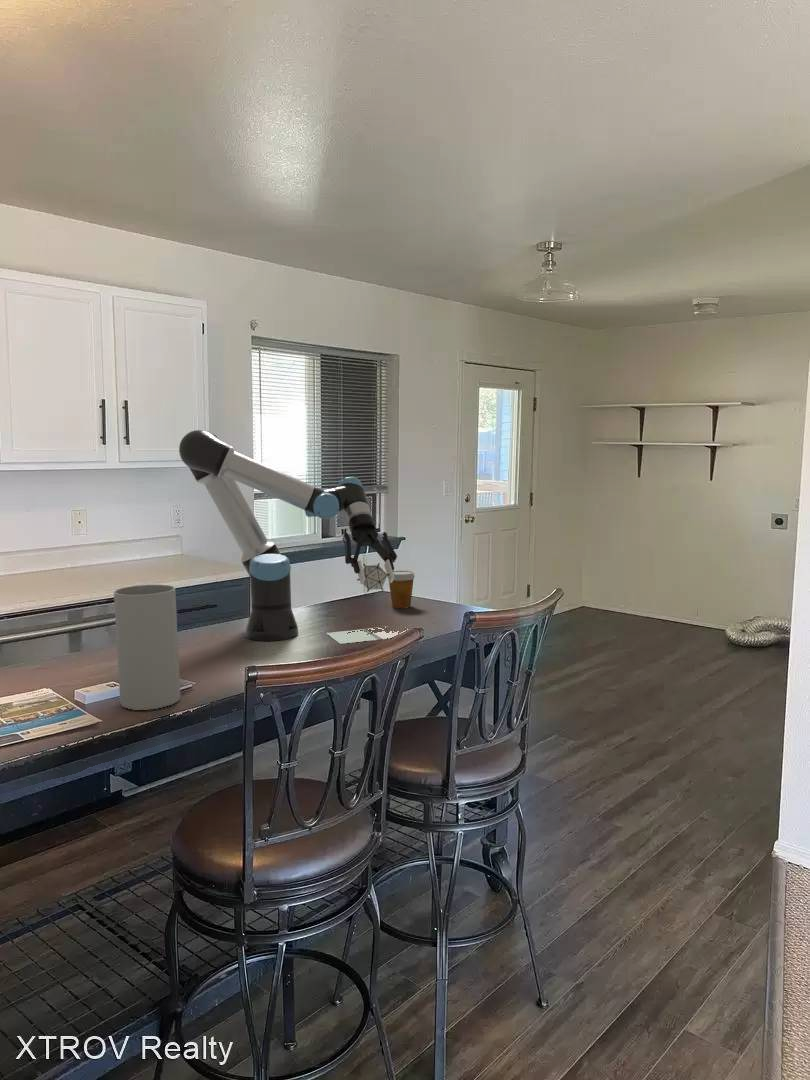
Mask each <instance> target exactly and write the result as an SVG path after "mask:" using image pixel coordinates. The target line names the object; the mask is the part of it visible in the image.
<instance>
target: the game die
mask: <svg viewBox="0 0 810 1080" xmlns="http://www.w3.org/2000/svg"><path fill="white" fill-rule="evenodd" d="M362 566H363V571H364V575H365V578H366V579H365V581H364V583H363V584H362V585H364V587H365V588H366V592H367V593H368V592H370V590H381V591H384V588H383V586H384V584H385V582H386V580H387V578H388V577H387V576H389V574H387V573H386V571H384V569H383V568H382V567H381V566H380V562H379V563H377V564H375V565H366V564H365V563H362ZM356 581H359V582H360V580H359V578H357V579H356Z"/></svg>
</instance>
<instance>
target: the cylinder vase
mask: <svg viewBox="0 0 810 1080" xmlns="http://www.w3.org/2000/svg"><path fill="white" fill-rule="evenodd" d="M176 598H177V596H176V587H175V586H173V585H169V584H141V585H131V586H126V587H121V588H118V589H115V590H114V591H113V599H114V617H115V633H116V635H115V636H116V651H117V666H118V667H117V669H118V684H119V685H118V687H119V702H120V705H121V707H123V708H124V707H125V708H124V709H126V708H128V709H127V710H129V709H137V710H145V709H146V710H148V709H156V710H159V709H158V708H161V709H163V708H162V707H165V708H167V707H166V706H168V707H170V706H169V705H171V706H173V705H175V704H177V703H178V702H179V700H180V699H181V681H180V661H179V660H180V659H179V640H178V639H179V638H178V618H177V599H176ZM174 703H175V704H174ZM172 704H173V705H172ZM148 711H149V710H148Z"/></svg>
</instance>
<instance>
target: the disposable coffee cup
mask: <svg viewBox="0 0 810 1080" xmlns="http://www.w3.org/2000/svg"><path fill="white" fill-rule="evenodd" d="M393 574H394V577H395V578H394V580H393V582H392V583H389V582H388V585H389V593H390V599H391V607H392V608H393V607H395V608H394V609H399V608H401V609H407V608H406V607H409V608H410V607H411V603H412V597H413V587H414V586H413V585H414V579H415V576H416V575H415V573H414V571H412V570H394V571H393ZM386 578H388V576H387V577H386Z"/></svg>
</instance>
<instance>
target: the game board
mask: <svg viewBox="0 0 810 1080" xmlns="http://www.w3.org/2000/svg"><path fill="white" fill-rule="evenodd" d="M384 627H385V628H386V627H387V626H384ZM373 628H374V627H373ZM373 628H361V629H352V630H351V631H350V630H343V631H333V632H326V633H325V634H326V635H327V636H328V635H329V636H328V637H329V638H331V639H332V640H334V641H335V642H336V643H338V644H339V645H348V644H347V643H349V644H357V643H356V642H358V643H365V642H364V641H367V642H374V641H382V640H383V641H384V640H391V639H390V638H392V637H394V636H396V635H398V632H399V631H397V632H394V631H393V632H394V633H392V631H390V632H389V633H386V632H385V631H382V632H377V633H374V632H373V633H372V634H370V633H371V632H372V631H371V632H369V631H368V630H369V629H371V630H375V629H373ZM377 628H378V629H382V628H379V627H377ZM366 629H368V630H366ZM360 630H363V631H360ZM365 630H366V631H367V632H366V631H365ZM382 630H384V629H382ZM407 630H408V628H407ZM352 631H355V632H352ZM357 631H358V632H357ZM364 631H365V632H364ZM405 631H406V630H405ZM405 631H403V632H405ZM348 632H351V633H348ZM403 632H401V633H403ZM347 633H348V634H347ZM368 633H369V634H368ZM401 633H399V634H401ZM367 634H368V635H367ZM387 638H388V639H387Z"/></svg>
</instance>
